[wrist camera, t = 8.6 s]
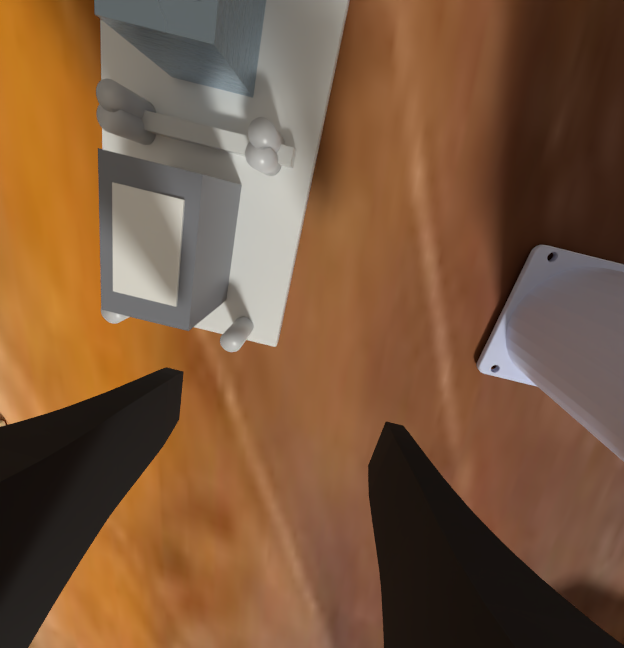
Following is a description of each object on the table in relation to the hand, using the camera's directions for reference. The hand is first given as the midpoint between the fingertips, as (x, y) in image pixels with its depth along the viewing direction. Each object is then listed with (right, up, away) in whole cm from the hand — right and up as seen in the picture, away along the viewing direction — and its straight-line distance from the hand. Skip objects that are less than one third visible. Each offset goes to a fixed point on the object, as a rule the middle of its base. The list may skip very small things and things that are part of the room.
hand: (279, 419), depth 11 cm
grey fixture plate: (-4, +13, +6) cm, 15 cm away
